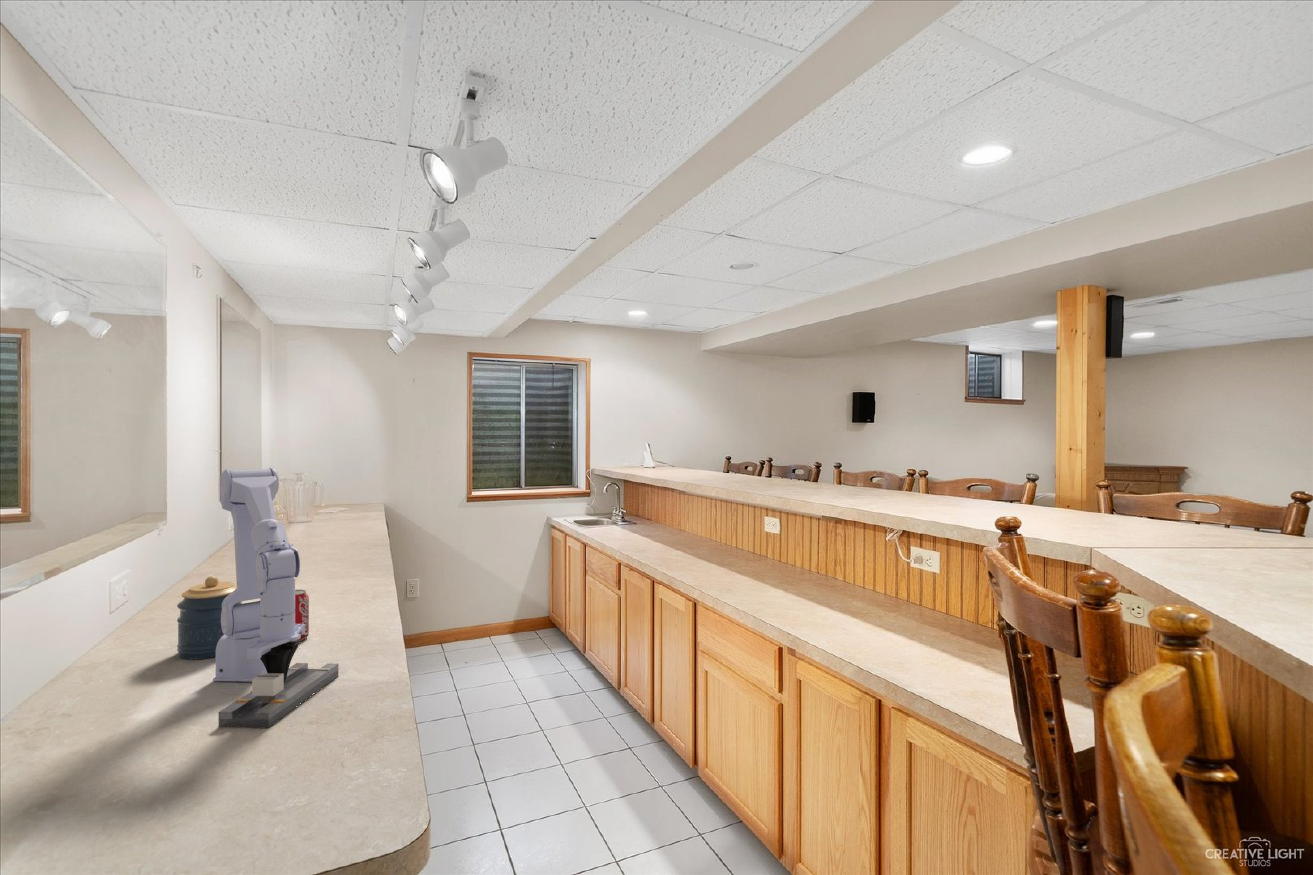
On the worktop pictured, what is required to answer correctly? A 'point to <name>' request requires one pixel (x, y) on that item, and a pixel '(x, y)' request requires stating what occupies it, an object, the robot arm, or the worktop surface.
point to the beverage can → (302, 611)
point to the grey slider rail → (278, 698)
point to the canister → (202, 618)
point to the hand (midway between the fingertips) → (277, 683)
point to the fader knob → (267, 686)
